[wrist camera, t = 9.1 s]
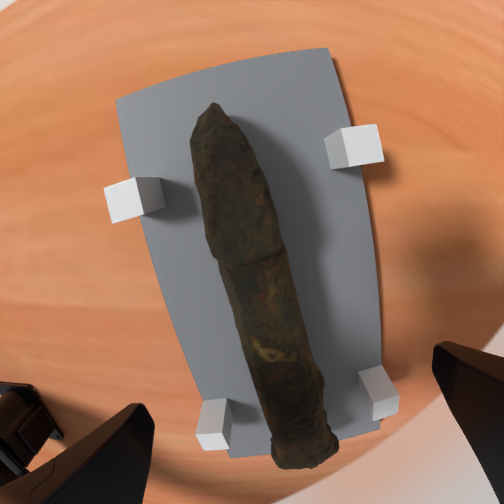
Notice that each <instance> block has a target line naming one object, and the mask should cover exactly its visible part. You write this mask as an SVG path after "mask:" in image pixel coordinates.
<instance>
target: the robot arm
mask: <svg viewBox="0 0 504 504" xmlns="http://www.w3.org/2000/svg"><path fill="white" fill-rule="evenodd" d="M432 371H433V374H434V376H435V378H436V380H437V382H438V385H439V387H440V389H441V391H442V393H443V395H444V398H445V400H446V402H447V404H448V406H449V409H450V410H451V412H452V414H453V416H454V417H455V419H456V421H457V423H458V424H459V426H460V428H461V429H462V431H463V433H464V435H465V436H466V438H467V440H468V442H469V444H470V445H471V447H472V449H473V451H474V453H475V454H476V456H477V458H478V460H479V462H480V464H481V466H482V468H483V470H484V472H485V474H486V476H487V478H488V480H489V481H490V483H491V486H492V488H493V490H494V492H495V494H496V496H497V498H498V500H499V502H500V504H504V357H500V356H497V355H493V354H489V353H486V352H483V351H479V350H476V349H473V348H469V347H466V346H462V345H459V344H456V343H452V342H449V341H444V342H441V343H438V344H436V345H435V346H434V350H433V360H432ZM0 395H1V397H0V504H142V502H143V497H144V492H145V488H146V483H147V479H148V474H149V470H150V464H151V456H152V447H153V439H154V430H155V424H154V421H153V419H152V417H151V416H150V414H149V412H148V410H147V408H146V407H145V405H144V404H142V403H131V404H129V405H128V406H127V407H125V408H124V409H122V410H121V411H120V412H118V413H117V414H116V415H114V416H113V417H112V418H110V419H109V420H107V421H106V422H105V423H103V424H102V425H100V426H99V427H98V428H96V429H95V430H93V431H92V432H91V433H89V434H88V435H86V436H85V437H83V438H82V439H81V440H79V441H78V442H76V443H75V444H73V445H72V446H71V447H69V448H68V449H66V450H65V451H63V452H62V453H60V454H59V455H57V456H56V458H53V459H51V460H50V461H48V462H47V463H45V464H44V465H42V466H40V467H39V468H37V469H35V470H34V471H32V472H30V471H29V470H27V469H26V468H25V467H28V465H29V464H30V462H31V461H32V459H33V458H34V456H35V455H37V454H38V453H39V451H40V450H41V448H42V447H43V445H44V444H45V443H46V441H47V440H48V438H52V439H57V440H63V438H64V435H63V434H62V432H61V431H60V430H59V428H58V427H57V425H56V424H55V422H54V421H53V420H52V418H51V417H50V415H49V414H48V412H47V411H46V409H45V408H44V406H43V404H42V403H41V401H40V400H39V398H38V396H37V395H36V393H35V391H34V390H33V388H32V387H31V386H29V385H25V384H14V383H5V382H0Z"/></svg>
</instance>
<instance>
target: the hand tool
mask: <svg viewBox="0 0 504 504" xmlns="http://www.w3.org/2000/svg"><path fill="white" fill-rule="evenodd" d="M190 149H191V157H192V163H193V172H194V184H195V186H196V188H197V191H198V193H199V196H200V200H201V207H202V217H203V222H204V226H205V238H206V240H207V243H208V245H209V248H210V252H211V254H212V256H213V258H215V259H217V262H218V267H219V272H220V275H221V278H222V281H223V284H224V287H225V290H226V293H227V296H228V300H229V303H230V306H231V308H232V311H233V316H234V321H235V326H236V328H237V331H238V334H239V337H240V341H241V346H242V350H243V353H244V356H245V359H246V362H247V365H248V368H249V371H250V374H251V377H252V381H253V384H254V387H255V390H256V393H257V396H258V399H259V402H260V405H261V408H262V411H263V414H264V417H265V420H266V422H267V425H268V428H269V430H270V432H271V434H272V437H271V439H270V441H271V456H272V458H273V460H274V461H275V463H276V465H277V466H278V468H282V469H303V468H310V469H312V468H315V467H317V466H318V465H319V464H321V463H323V462H324V461H325V460H327V459H328V458H330V457H331V456H333V455H334V454H335V453H337V452H338V450H339V441H338V438H337V436H336V435H335V434H334V433H333V432H332V431H331V427H330V426H329V425H328V423H327V413H326V411H324V405H323V395H324V392H323V389H324V386H325V380H324V377H323V375H322V373H321V371H320V370H319V368H318V367H317V365H316V364H315V362H314V361H313V356H312V353H311V349H310V346H309V341H308V337H307V332H306V329H305V325H304V321H303V318H302V314H301V309H300V306H299V302H298V298H297V293H296V288H295V285H294V282H293V277H292V273H291V270H290V264H289V259H288V255H287V250H286V247H285V244H284V242H283V240H282V236H281V232H280V229H279V221H278V216H277V211H276V209H275V206H274V202H273V200H272V196H271V193H270V188H269V185H268V183H267V180H266V178H265V175H264V173H263V170H262V169H261V167H260V166H259V164H258V162H257V159H256V156H255V153H254V151H253V149H252V146H250V144H249V141H248V138H247V136H246V135H244V134H243V133H242V132H241V130H240V128H239V126H238V125H236V124H235V123H234V122H232V121H231V120H230V118H229V117H228V116H227V115H226V114H225V112H224V111H223V109H222V108H221V106H220V105H219V104H217V103H215V102H213V103H211V104H210V106H209V107H208V108H207V109H206V110H205V111H204V112H203V113H202V114H201V115H200V116H199V117H198V118H197V123H196V126H195V128H194V129H193V132H192V135H191V138H190Z"/></svg>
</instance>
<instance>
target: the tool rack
mask: <svg viewBox="0 0 504 504" xmlns="http://www.w3.org/2000/svg"><path fill="white" fill-rule="evenodd" d="M213 102H215V103H217V104H219V105H220V106H221V108H222V109H223V111H224V112H225V114H226V115H227V116H228V117H229V118H230V120H231V121H232V122H234V123H235V124H236V125H238V126H239V128H240V130H241V132H242V133H243V134H244V135H246V136H247V138H248V141H249V144H250V146H252V149H253V151H254V153H255V156H256V159H257V162H258V164H259V166H260V167H261V169H262V170H263V173H264V175H265V178H266V180H267V183H268V185H269V188H270V193H271V196H272V200H273V202H274V206H275V209H276V211H277V216H278V221H279V229H280V232H281V236H282V240H283V242H284V244H285V247H286V250H287V255H288V259H289V264H290V270H291V273H292V277H293V282H294V285H295V288H296V293H297V298H298V302H299V306H300V309H301V314H302V318H303V321H304V325H305V329H306V332H307V337H308V341H309V346H310V349H311V353H312V356H313V361H314V362H315V364H316V365H317V367H318V368H319V370H320V371H321V373H322V375H323V377H324V380H325V386H324V389H323V392H324V395H323V405H324V411H326V413H327V423H328V425H329V426H330V427H331V431H332V432H333V433H334V434H335V435H336V436H337V438H338V441H339V440H343V439H347V438H351V437H354V436H358V435H362V434H365V433H368V432H372V431H375V430H378V429H380V419H382V418H385V417H388V416H391V415H394V414H397V413H398V406H399V393H398V391H397V390H396V388H395V386H394V385H393V383H392V381H391V380H390V378H389V376H388V375H387V373H386V371H385V370H384V368H383V366H382V359H381V325H380V308H379V294H378V282H377V271H376V262H375V253H374V245H373V237H372V230H371V223H370V217H369V210H368V204H367V198H366V193H365V187H364V182H363V177H362V172H361V167H360V165H364V164H370V163H376V162H383V161H384V156H383V151H382V147H381V142H380V138H379V134H378V129H377V125H376V124H370V125H362V126H354V127H351V123H350V119H349V116H348V112H347V108H346V104H345V101H344V97H343V94H342V90H341V87H340V84H339V80H338V77H337V74H336V71H335V68H334V64H333V61H332V58H331V55H330V52H329V50H328V48H318V49H308V50H300V51H292V52H285V53H278V54H272V55H266V56H260V57H255V58H250V59H245V60H240V61H236V62H231V63H227V64H223V65H219V66H215V67H211V68H207V69H203V70H200V71H196V72H193V73H189V74H186V75H183V76H179V77H176V78H173V79H170V80H167V81H164V82H161V83H158V84H155V85H153V86H150V87H147V88H144V89H142V90H139V91H136V92H134V93H131V94H129V95H126V96H124V97H121V98H119V99H117V100H116V106H117V112H118V118H119V124H120V130H121V135H122V140H123V146H124V151H125V156H126V160H127V165H128V170H129V174H130V179H128V180H125V181H122V182H120V183H117V184H114V185H111V186H108V187H106V188H104V192H105V197H106V201H107V205H108V209H109V213H110V217H111V221H112V224H113V223H116V222H120V221H123V220H126V219H130V218H133V217H136V216H140V220H141V223H142V227H143V231H144V234H145V238H146V242H147V245H148V249H149V252H150V255H151V259H152V262H153V265H154V269H155V272H156V275H157V278H158V281H159V285H160V288H161V291H162V294H163V297H164V300H165V303H166V306H167V309H168V312H169V314H170V317H171V320H172V323H173V326H174V328H175V331H176V334H177V337H178V339H179V342H180V345H181V347H182V350H183V353H184V355H185V358H186V360H187V363H188V365H189V368H190V370H191V373H192V375H193V378H194V380H195V382H196V385H197V387H198V390H199V392H200V394H201V397H202V399H203V404H202V408H201V412H200V416H199V421H198V425H197V429H196V433H195V435H196V437H197V439H198V441H199V442H200V444H201V446H202V448H203V450H204V451H205V450H222V449H226V450H227V452H228V454H229V456H230V458H238V457H248V456H257V455H265V454H271V441H270V439H271V437H272V434H271V432H270V430H269V428H268V425H267V422H266V420H265V417H264V414H263V411H262V408H261V405H260V402H259V399H258V396H257V393H256V390H255V387H254V384H253V381H252V377H251V374H250V371H249V368H248V365H247V362H246V359H245V356H244V353H243V350H242V346H241V341H240V337H239V334H238V331H237V328H236V326H235V321H234V316H233V311H232V308H231V306H230V303H229V300H228V296H227V293H226V290H225V287H224V284H223V281H222V278H221V275H220V272H219V267H218V262H217V259H215V258H213V256H212V254H211V252H210V248H209V245H208V243H207V240H206V238H205V226H204V222H203V217H202V207H201V200H200V196H199V193H198V191H197V188H196V186H195V184H194V172H193V163H192V157H191V149H190V138H191V135H192V132H193V129H194V128H195V126H196V123H197V118H198V117H199V116H200V115H201V114H202V113H203V112H204V111H205V110H206V109H207V108H208V107H209V106H210V104H211V103H213Z"/></svg>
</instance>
